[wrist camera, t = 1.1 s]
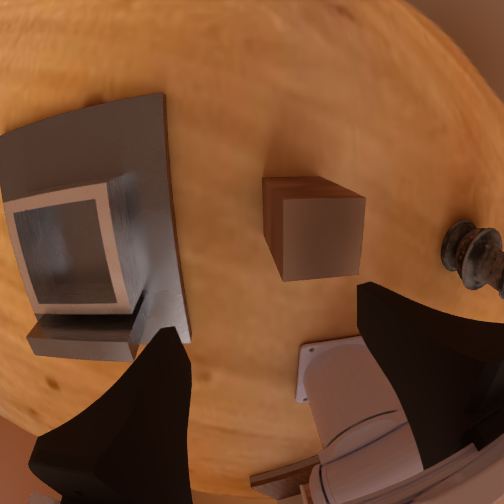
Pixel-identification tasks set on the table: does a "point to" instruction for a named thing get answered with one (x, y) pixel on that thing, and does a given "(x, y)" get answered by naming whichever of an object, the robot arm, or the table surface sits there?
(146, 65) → the table surface
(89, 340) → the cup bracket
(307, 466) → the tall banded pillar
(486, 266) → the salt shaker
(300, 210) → the rail post
